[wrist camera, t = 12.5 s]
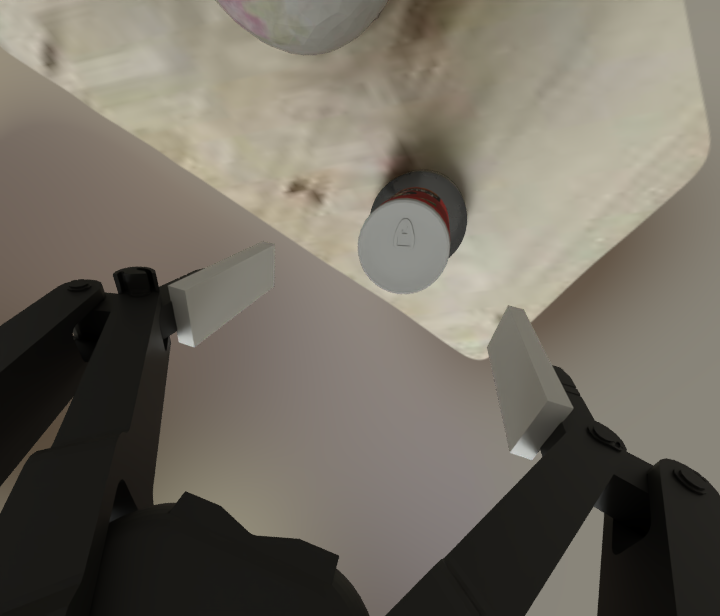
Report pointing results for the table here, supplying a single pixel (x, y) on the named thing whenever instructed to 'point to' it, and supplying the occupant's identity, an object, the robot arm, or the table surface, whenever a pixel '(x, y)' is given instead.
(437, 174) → the pedestal
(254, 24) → the ceramic pitcher
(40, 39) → the table surface
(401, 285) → the canned food
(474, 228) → the table surface
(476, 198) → the table surface
